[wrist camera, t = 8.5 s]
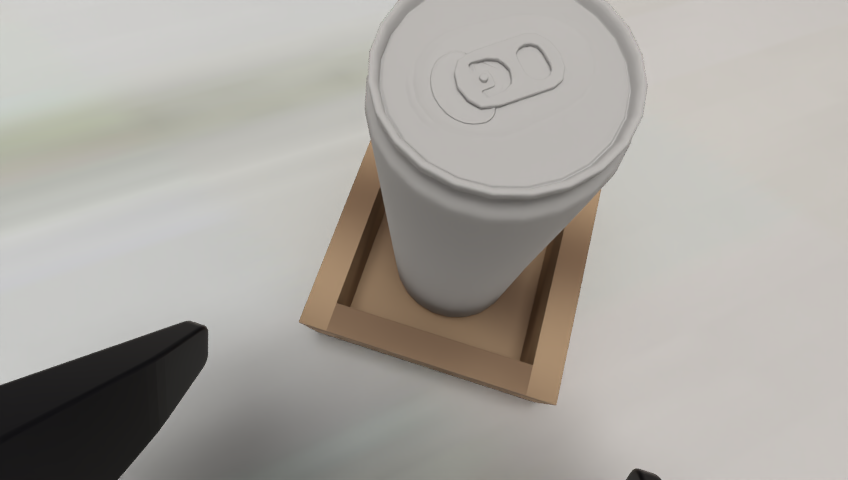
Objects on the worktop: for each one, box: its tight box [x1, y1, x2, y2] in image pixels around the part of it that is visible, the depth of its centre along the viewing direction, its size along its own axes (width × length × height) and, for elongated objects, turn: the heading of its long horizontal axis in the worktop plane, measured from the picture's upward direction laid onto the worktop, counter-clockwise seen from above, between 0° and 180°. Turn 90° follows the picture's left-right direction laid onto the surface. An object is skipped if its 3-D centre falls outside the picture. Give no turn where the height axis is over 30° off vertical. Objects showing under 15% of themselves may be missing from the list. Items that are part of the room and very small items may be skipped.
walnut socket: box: [299, 141, 601, 405], centre depth 18 cm, size 9×9×3 cm
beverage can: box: [365, 0, 648, 317], centre depth 13 cm, size 5×5×12 cm
